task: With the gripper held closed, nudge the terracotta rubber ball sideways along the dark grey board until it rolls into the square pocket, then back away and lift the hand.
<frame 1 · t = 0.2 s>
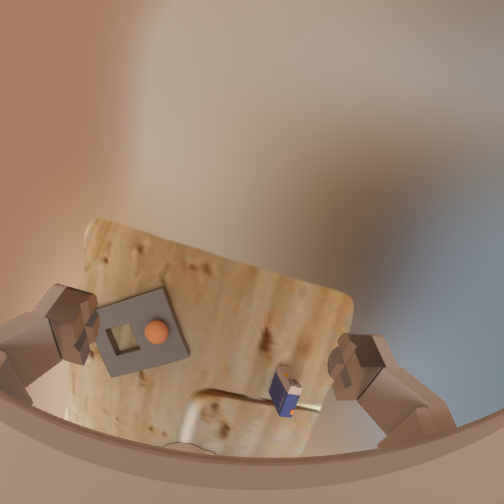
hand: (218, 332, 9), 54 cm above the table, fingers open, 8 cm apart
ball: (156, 332, 55), point 5 cm above the table, touching pocket board
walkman: (278, 379, 65), on the table
pocket board: (137, 332, 60), on the table
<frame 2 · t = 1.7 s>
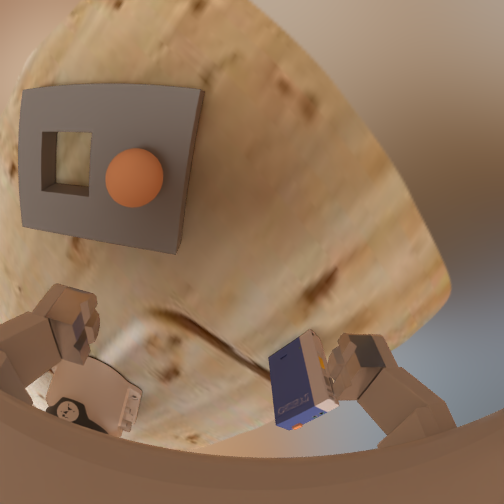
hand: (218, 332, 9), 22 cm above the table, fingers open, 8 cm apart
ball: (134, 177, 22), point 5 cm above the table, touching pocket board
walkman: (293, 347, 40), on the table
pocket board: (100, 159, 26), on the table
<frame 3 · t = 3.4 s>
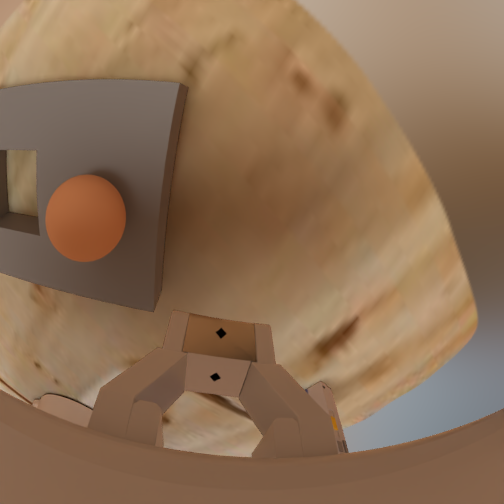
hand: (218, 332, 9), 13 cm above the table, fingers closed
ball: (85, 218, 14), point 5 cm above the table, touching pocket board
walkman: (300, 398, 32), on the table
pocket board: (55, 183, 18), on the table
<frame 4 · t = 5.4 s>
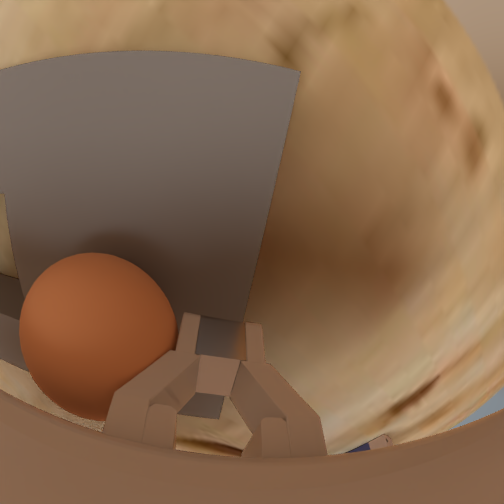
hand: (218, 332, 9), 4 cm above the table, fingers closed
ball: (97, 337, 7), point 5 cm above the table, tilted 12°, touching gripper, pocket board
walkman: (357, 449, 25), on the table
pocket board: (46, 236, 11), on the table
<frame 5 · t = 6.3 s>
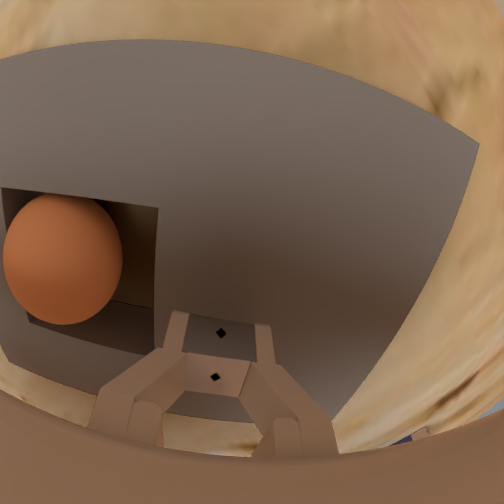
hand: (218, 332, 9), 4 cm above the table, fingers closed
ball: (61, 257, 9), point 2 cm above the table, tilted 110°
pocket board: (165, 254, 12), on the table
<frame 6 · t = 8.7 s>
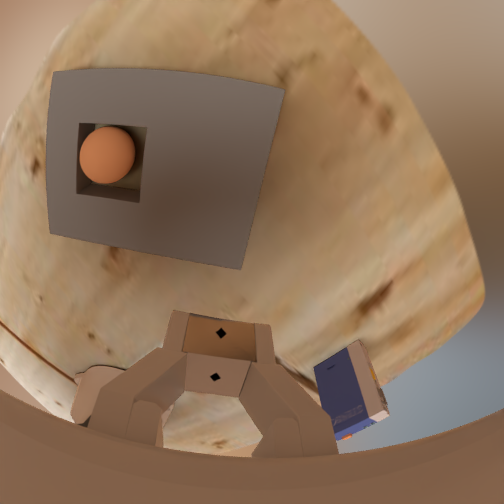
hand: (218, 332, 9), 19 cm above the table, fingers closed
ball: (107, 154, 21), point 2 cm above the table, tilted 120°
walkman: (339, 356, 38), on the table
pocket board: (150, 158, 24), on the table
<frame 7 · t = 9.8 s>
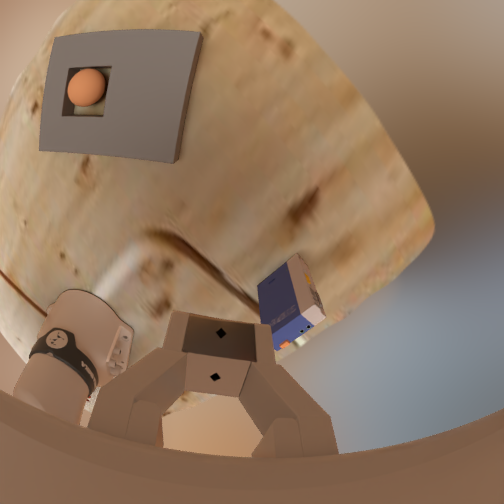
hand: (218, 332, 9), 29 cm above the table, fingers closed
ball: (86, 87, 26), point 2 cm above the table, tilted 124°
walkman: (281, 274, 43), on the table
pocket board: (115, 91, 29), on the table
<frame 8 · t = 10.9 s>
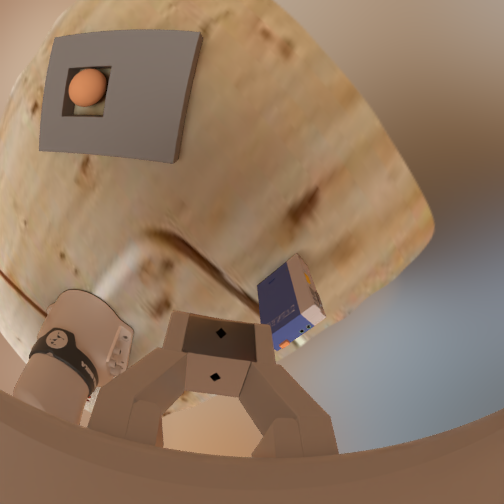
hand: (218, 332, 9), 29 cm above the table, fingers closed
ball: (87, 87, 26), point 2 cm above the table, tilted 128°
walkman: (281, 274, 43), on the table
pocket board: (115, 91, 29), on the table
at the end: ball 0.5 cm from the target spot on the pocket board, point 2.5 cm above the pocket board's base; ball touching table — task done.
